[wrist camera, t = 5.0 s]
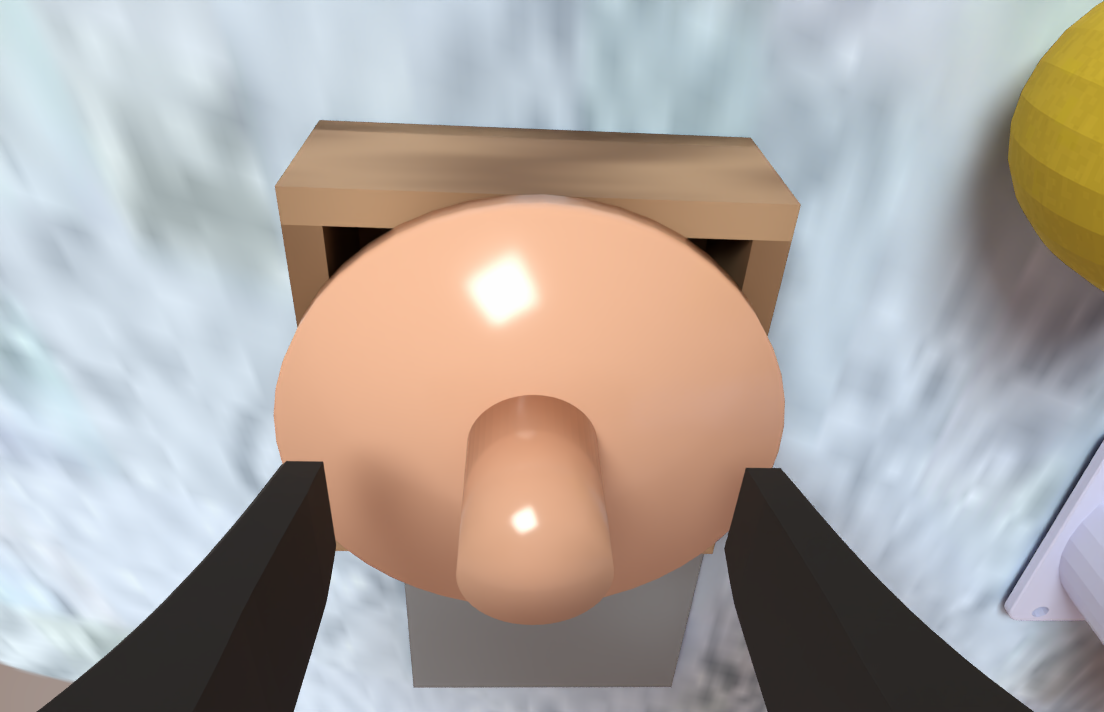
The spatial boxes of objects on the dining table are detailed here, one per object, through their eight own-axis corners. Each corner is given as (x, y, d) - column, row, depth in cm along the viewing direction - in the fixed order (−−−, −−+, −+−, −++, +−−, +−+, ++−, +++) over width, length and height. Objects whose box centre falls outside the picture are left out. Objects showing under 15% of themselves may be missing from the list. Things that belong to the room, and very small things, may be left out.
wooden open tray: (750, 137, 16) (800, 204, 13) (686, 455, 21) (712, 553, 18) (319, 120, 16) (275, 186, 13) (359, 450, 21) (333, 550, 18)
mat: (712, 495, 22) (715, 504, 22) (669, 676, 27) (671, 687, 27) (399, 491, 22) (397, 501, 21) (415, 677, 27) (413, 687, 26)
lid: (830, 205, 13) (930, 329, 10) (724, 580, 19) (767, 738, 16) (245, 182, 13) (150, 305, 10) (315, 577, 18) (271, 740, 15)
